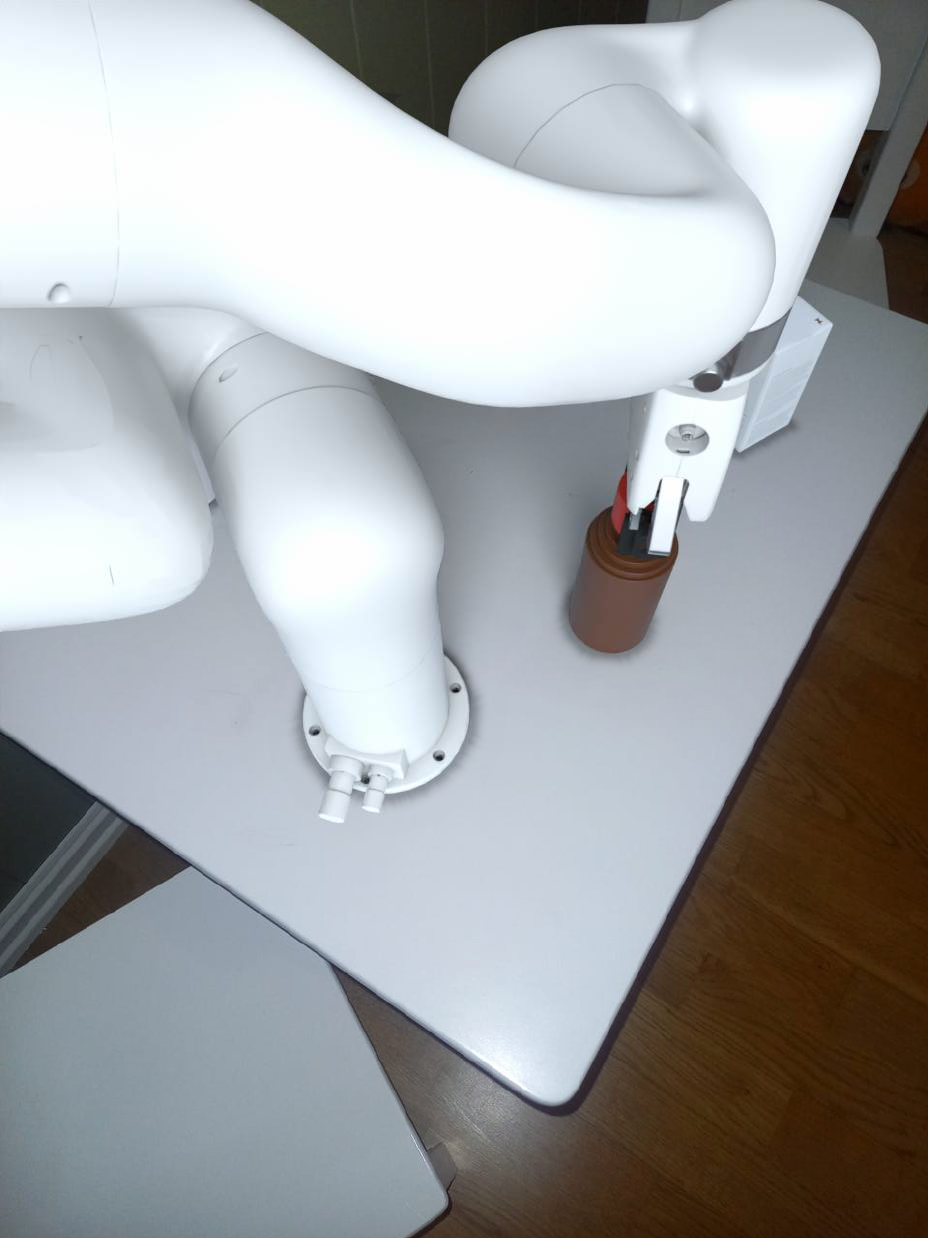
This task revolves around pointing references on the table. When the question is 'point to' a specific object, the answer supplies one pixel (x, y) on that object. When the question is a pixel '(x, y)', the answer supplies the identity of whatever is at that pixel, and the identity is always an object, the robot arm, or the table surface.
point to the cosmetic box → (783, 375)
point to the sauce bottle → (615, 590)
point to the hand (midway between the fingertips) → (642, 524)
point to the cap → (622, 504)
